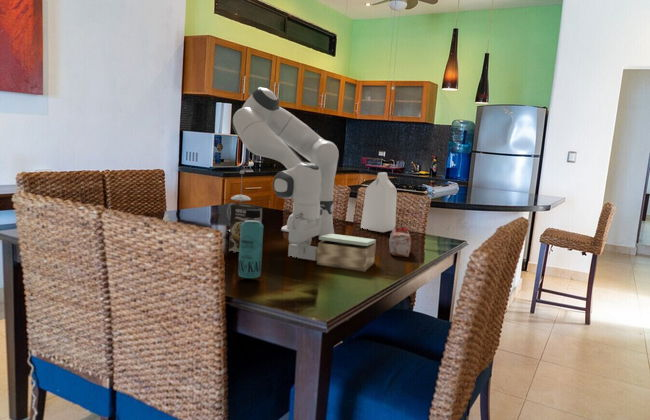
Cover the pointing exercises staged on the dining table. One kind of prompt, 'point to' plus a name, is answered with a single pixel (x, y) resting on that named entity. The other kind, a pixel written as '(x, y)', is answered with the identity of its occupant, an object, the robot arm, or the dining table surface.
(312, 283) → the dining table surface
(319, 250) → the box
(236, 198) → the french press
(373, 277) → the dining table surface
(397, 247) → the food item
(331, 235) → the lid
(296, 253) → the white rectangular block
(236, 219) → the coffee box
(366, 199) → the milk
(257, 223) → the beverage bottle
